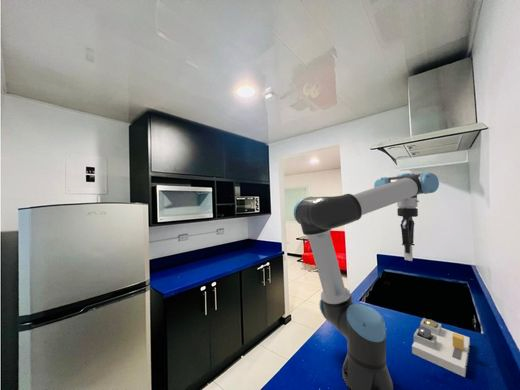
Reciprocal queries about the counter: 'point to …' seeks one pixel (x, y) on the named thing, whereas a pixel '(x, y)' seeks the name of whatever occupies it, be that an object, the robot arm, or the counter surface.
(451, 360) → the console
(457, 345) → the slider knob
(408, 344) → the counter surface
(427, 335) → the grey button
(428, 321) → the brass button
